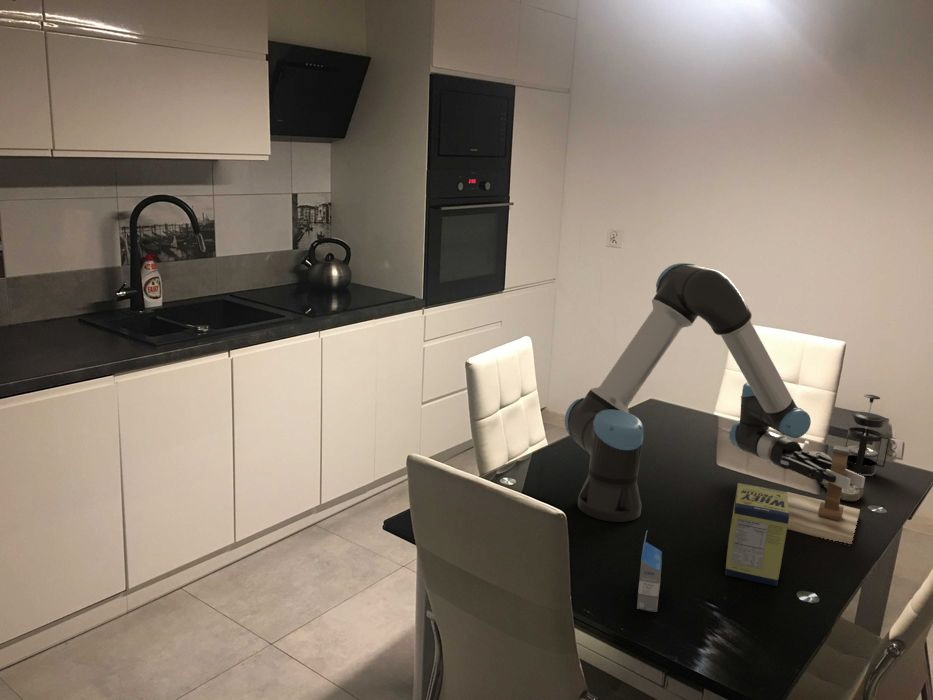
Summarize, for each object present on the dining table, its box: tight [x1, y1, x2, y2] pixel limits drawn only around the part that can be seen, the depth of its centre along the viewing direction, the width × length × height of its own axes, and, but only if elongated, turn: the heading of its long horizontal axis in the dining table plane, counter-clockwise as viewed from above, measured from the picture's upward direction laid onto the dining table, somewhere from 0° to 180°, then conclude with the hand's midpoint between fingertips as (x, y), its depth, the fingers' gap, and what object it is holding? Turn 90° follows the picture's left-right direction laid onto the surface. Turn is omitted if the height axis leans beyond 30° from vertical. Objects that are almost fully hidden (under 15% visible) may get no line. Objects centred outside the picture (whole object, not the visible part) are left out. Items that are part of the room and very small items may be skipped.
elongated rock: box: [808, 450, 865, 502], centre depth 225 cm, size 35×5×10 cm
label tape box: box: [636, 529, 663, 613], centre depth 152 cm, size 9×4×12 cm, turn 164°
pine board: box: [787, 491, 861, 545], centre depth 197 cm, size 20×21×2 cm
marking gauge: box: [818, 444, 850, 521], centre depth 192 cm, size 5×5×17 cm
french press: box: [844, 394, 891, 474], centre depth 231 cm, size 12×9×23 cm
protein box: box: [724, 481, 789, 587], centre depth 169 cm, size 10×16×16 cm
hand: (855, 483), depth 187 cm, fingers closed on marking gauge, 4 cm apart
